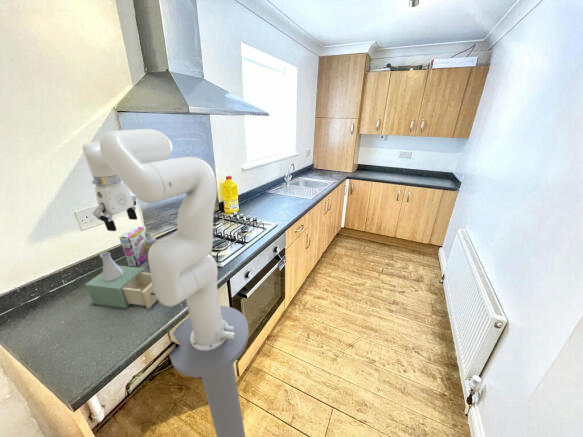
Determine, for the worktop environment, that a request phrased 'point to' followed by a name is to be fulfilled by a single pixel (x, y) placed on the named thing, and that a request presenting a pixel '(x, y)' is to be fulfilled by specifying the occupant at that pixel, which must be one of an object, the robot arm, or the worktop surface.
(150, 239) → the squeeze bottle
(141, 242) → the candy bar box
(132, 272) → the cabinet
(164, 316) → the worktop surface
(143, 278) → the drawer
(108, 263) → the flask
